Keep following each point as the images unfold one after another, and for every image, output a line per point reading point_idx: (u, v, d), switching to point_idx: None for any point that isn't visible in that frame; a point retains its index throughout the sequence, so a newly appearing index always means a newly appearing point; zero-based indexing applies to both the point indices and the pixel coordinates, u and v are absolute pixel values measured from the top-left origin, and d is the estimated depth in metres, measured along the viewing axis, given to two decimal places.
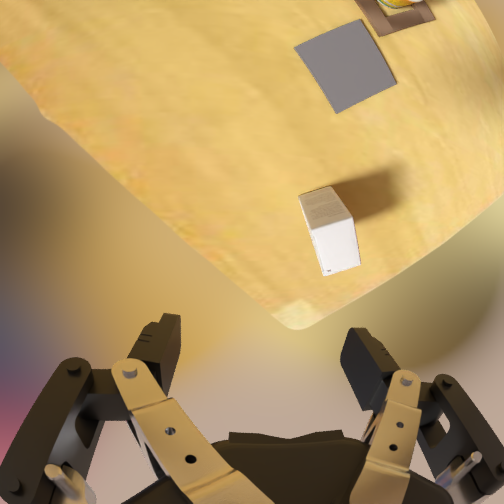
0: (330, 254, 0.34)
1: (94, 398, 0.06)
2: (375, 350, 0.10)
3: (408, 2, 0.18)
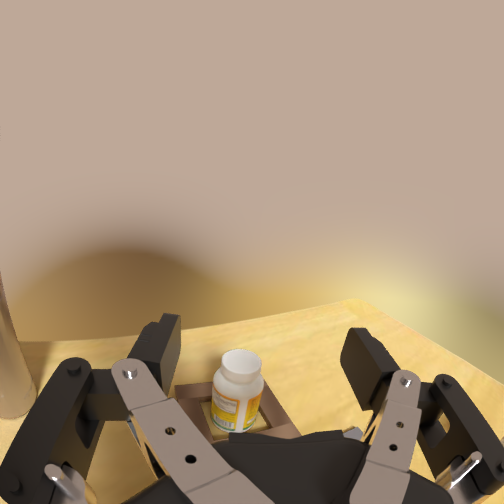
0: None
1: (94, 398, 0.06)
2: (375, 350, 0.10)
3: None
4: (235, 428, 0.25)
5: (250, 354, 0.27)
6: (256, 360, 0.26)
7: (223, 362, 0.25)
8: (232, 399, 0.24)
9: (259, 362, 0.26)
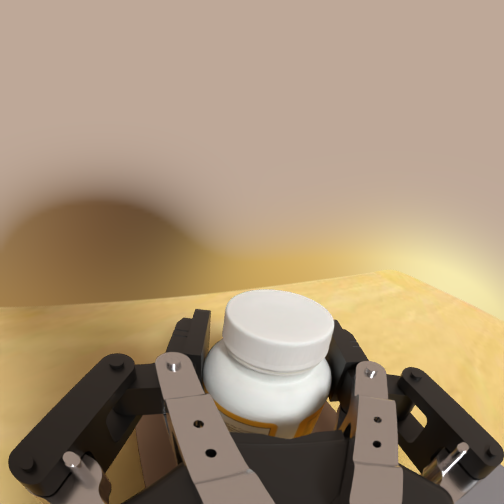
0: None
1: (133, 395, 0.07)
2: (342, 341, 0.11)
3: None
4: None
5: (299, 299, 0.11)
6: (318, 311, 0.10)
7: (231, 315, 0.09)
8: (258, 423, 0.08)
9: (327, 315, 0.10)
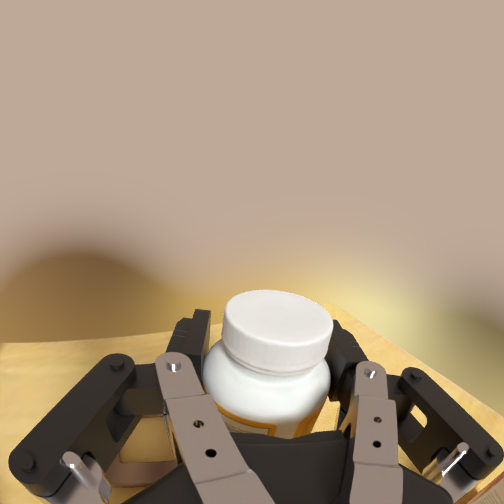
0: None
1: (133, 395, 0.07)
2: (342, 341, 0.11)
3: None
4: None
5: (298, 300, 0.11)
6: (317, 312, 0.10)
7: (230, 316, 0.09)
8: (257, 424, 0.08)
9: (326, 316, 0.10)
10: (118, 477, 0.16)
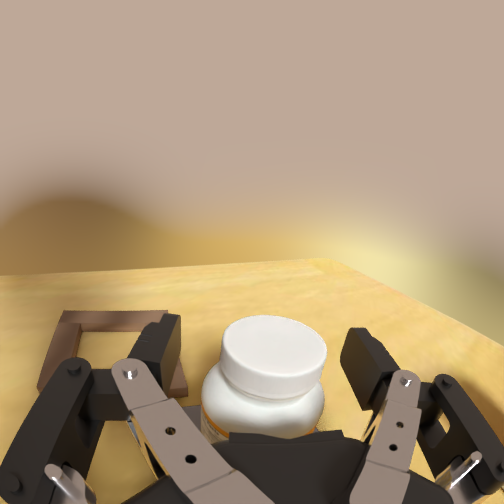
0: None
1: (94, 398, 0.06)
2: (375, 350, 0.10)
3: None
4: None
5: (293, 325, 0.11)
6: (312, 339, 0.10)
7: (227, 345, 0.09)
8: None
9: (321, 343, 0.10)
10: None
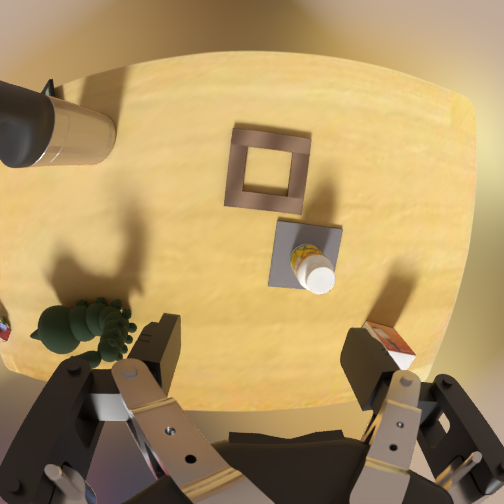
0: None
1: (94, 398, 0.06)
2: (375, 350, 0.10)
3: None
4: None
5: (331, 276, 0.35)
6: (331, 283, 0.36)
7: (308, 279, 0.35)
8: None
9: (331, 286, 0.36)
10: (239, 202, 0.41)
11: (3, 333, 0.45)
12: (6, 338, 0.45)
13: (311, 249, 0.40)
